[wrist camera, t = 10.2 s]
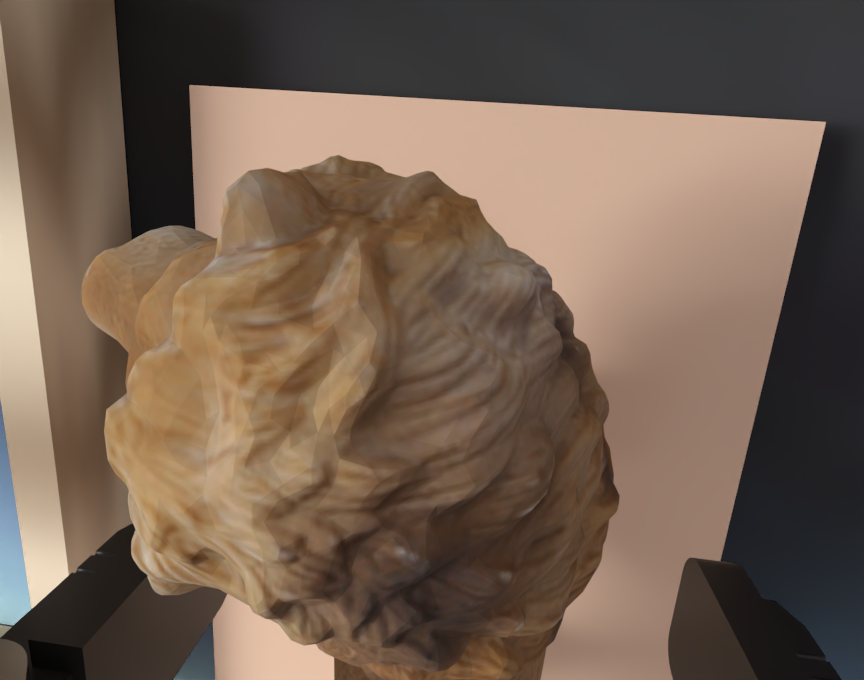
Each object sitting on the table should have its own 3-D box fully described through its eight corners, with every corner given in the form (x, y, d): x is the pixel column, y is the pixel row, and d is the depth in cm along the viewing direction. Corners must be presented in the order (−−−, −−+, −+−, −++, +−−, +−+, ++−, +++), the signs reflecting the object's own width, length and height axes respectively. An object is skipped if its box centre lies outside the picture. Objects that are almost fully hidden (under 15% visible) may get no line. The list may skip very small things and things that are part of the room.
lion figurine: (297, 178, 12) (-291, 165, 3) (564, 158, 11) (794, 70, 2) (366, 743, 15) (193, 1454, 7) (568, 755, 15) (660, 1565, 6)
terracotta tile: (209, 91, 12) (189, 84, 11) (803, 125, 11) (826, 121, 10) (229, 688, 17) (216, 713, 16) (657, 757, 15) (665, 788, 15)
